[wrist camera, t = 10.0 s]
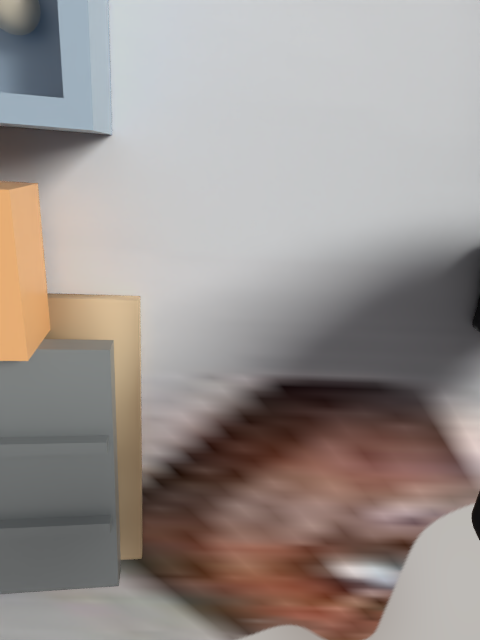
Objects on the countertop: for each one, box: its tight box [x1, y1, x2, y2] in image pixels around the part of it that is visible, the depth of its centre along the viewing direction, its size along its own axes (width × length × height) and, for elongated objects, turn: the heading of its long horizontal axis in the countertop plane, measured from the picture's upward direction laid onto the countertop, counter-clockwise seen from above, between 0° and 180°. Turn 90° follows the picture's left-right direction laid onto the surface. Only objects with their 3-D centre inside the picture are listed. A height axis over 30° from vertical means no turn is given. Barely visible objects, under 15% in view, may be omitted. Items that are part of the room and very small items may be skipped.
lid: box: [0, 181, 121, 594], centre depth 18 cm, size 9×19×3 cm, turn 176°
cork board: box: [44, 294, 142, 560], centre depth 21 cm, size 11×15×1 cm
